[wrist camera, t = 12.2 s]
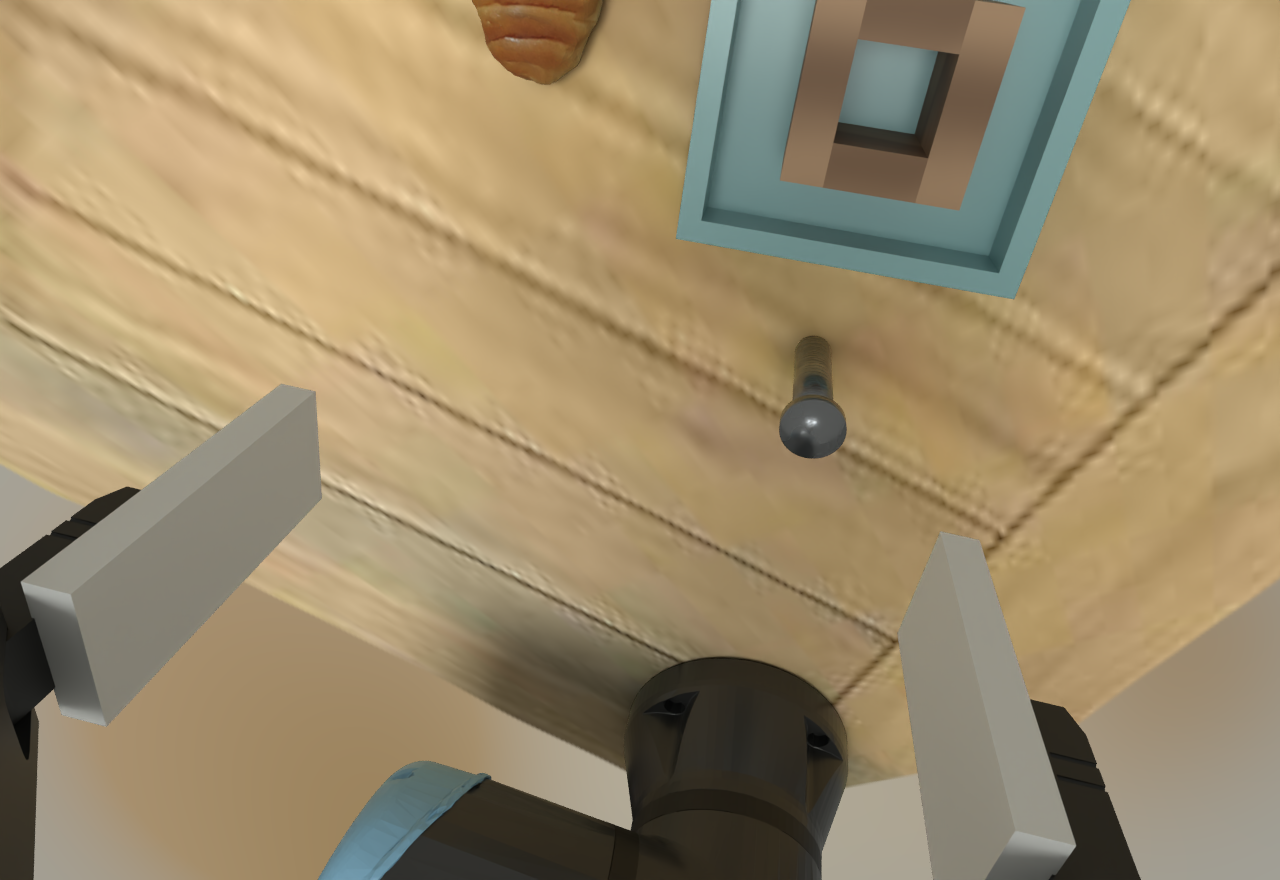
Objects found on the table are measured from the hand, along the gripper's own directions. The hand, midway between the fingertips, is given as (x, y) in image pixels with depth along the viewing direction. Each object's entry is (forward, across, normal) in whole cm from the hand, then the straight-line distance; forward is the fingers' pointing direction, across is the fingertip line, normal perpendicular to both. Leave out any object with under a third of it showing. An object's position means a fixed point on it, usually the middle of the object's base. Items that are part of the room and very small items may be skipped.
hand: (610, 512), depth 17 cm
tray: (+25, -6, -7) cm, 27 cm away
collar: (+25, -6, -7) cm, 26 cm away
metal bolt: (+26, -6, +6) cm, 27 cm away
